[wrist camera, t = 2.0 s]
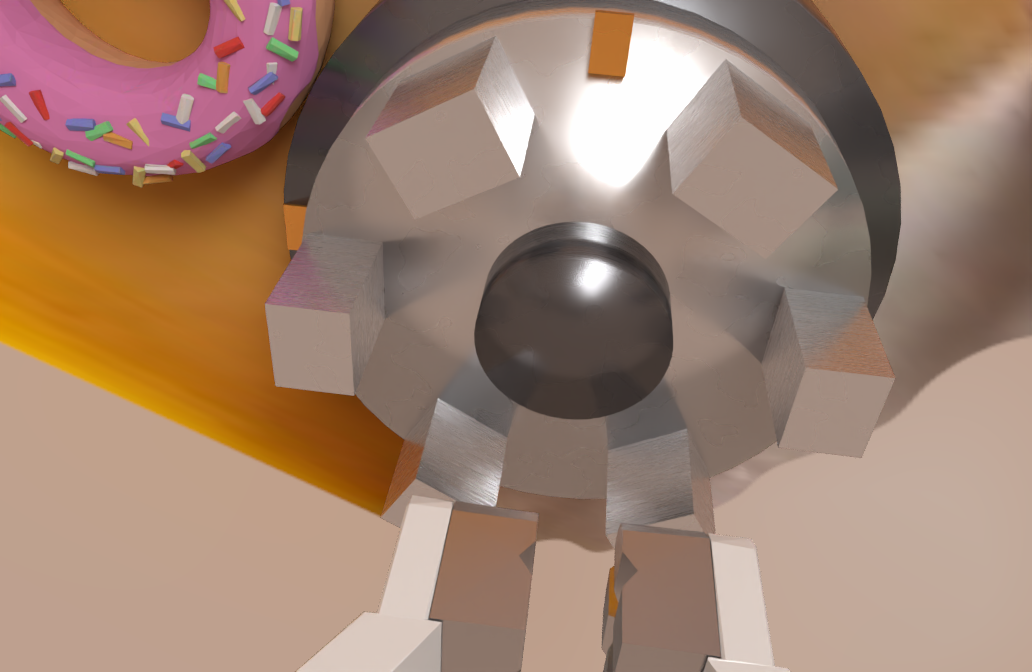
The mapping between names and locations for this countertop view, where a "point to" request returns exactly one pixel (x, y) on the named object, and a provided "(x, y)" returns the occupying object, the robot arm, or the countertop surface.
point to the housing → (731, 3)
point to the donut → (157, 87)
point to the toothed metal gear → (586, 264)
